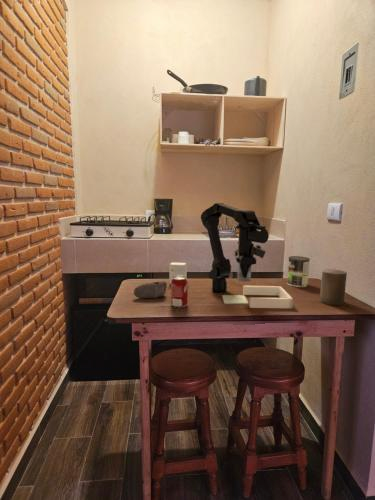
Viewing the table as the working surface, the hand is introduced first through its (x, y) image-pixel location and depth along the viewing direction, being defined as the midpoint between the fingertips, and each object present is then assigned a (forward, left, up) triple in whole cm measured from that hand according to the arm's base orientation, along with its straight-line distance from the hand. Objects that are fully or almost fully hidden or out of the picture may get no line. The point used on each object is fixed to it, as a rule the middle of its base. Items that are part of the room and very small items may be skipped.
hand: (243, 276), depth 135 cm
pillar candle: (+39, 0, -11) cm, 40 cm away
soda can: (-27, -8, -11) cm, 31 cm away
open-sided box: (+10, 0, -11) cm, 15 cm away
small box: (-29, +26, -11) cm, 41 cm away
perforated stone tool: (-40, +2, -11) cm, 42 cm away
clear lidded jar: (+33, +27, -11) cm, 44 cm away
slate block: (0, 0, -2) cm, 2 cm away
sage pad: (-3, 0, -11) cm, 11 cm away
